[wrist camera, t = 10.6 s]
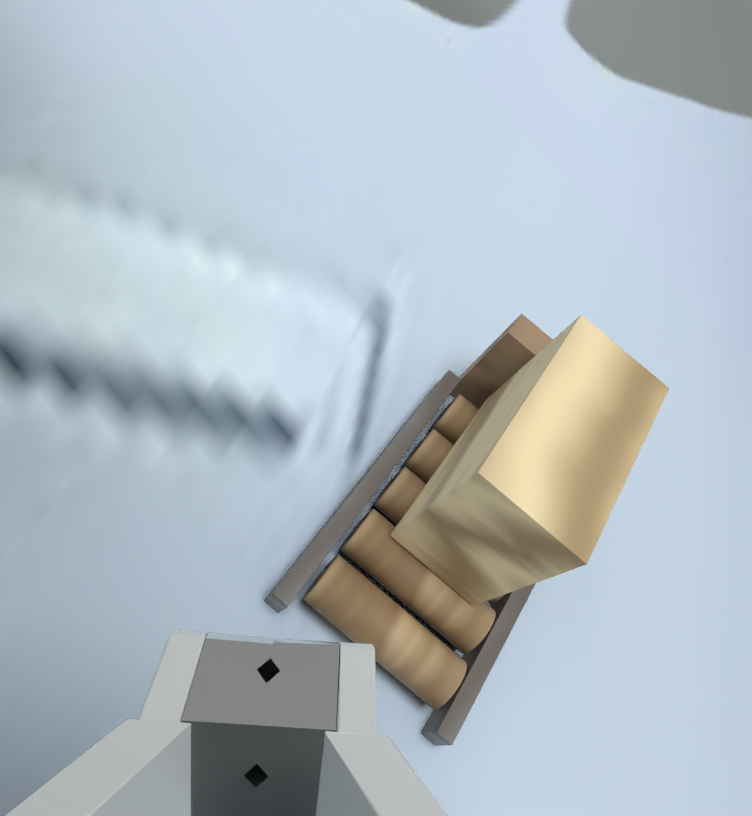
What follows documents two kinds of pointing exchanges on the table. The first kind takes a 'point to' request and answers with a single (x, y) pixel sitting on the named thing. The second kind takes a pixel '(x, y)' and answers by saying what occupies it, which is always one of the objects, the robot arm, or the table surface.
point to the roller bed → (406, 579)
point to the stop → (501, 361)
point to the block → (535, 469)
